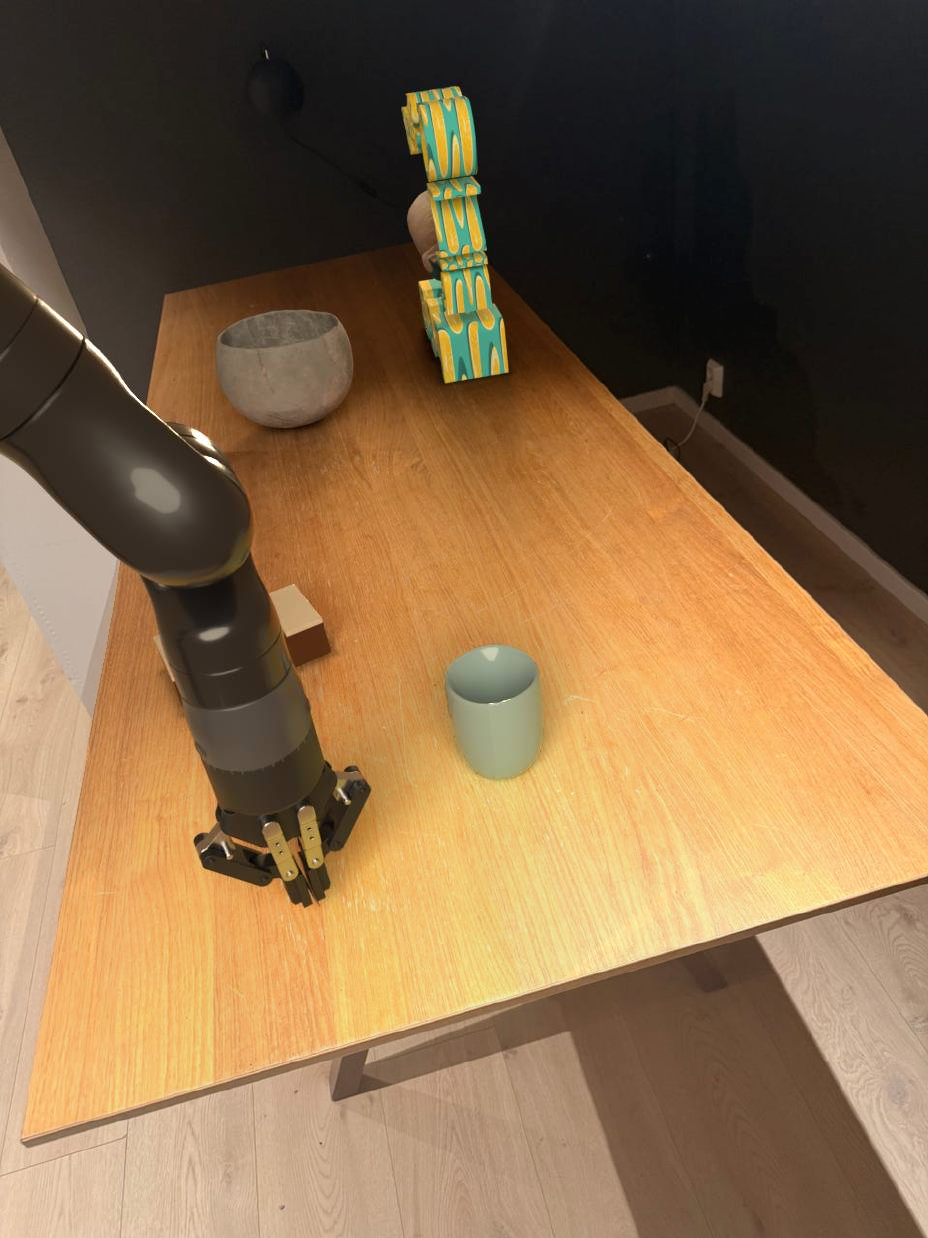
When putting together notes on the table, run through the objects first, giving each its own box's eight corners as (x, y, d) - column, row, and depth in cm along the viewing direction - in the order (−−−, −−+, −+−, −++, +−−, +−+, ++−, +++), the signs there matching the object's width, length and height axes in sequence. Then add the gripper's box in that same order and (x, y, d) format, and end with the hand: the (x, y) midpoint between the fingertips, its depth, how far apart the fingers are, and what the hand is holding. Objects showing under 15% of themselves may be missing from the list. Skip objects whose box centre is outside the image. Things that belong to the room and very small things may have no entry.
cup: (498, 808, 79) (486, 719, 73) (441, 761, 84) (425, 675, 79) (565, 759, 83) (558, 671, 77) (506, 718, 88) (496, 632, 82)
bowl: (356, 441, 141) (336, 342, 132) (221, 455, 142) (193, 359, 133) (368, 386, 157) (351, 296, 149) (247, 400, 159) (223, 311, 150)
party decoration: (509, 373, 155) (484, 97, 131) (439, 385, 154) (401, 110, 131) (478, 314, 180) (452, 74, 157) (418, 325, 179) (383, 84, 156)
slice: (295, 667, 98) (285, 632, 95) (269, 630, 104) (259, 596, 101) (330, 652, 99) (322, 617, 97) (302, 616, 105) (293, 583, 103)
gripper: (327, 657, 66) (371, 825, 76) (139, 734, 62) (212, 901, 72) (369, 717, 61) (411, 889, 71) (166, 806, 57) (241, 975, 67)
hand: (310, 895), depth 72 cm, fingers closed
